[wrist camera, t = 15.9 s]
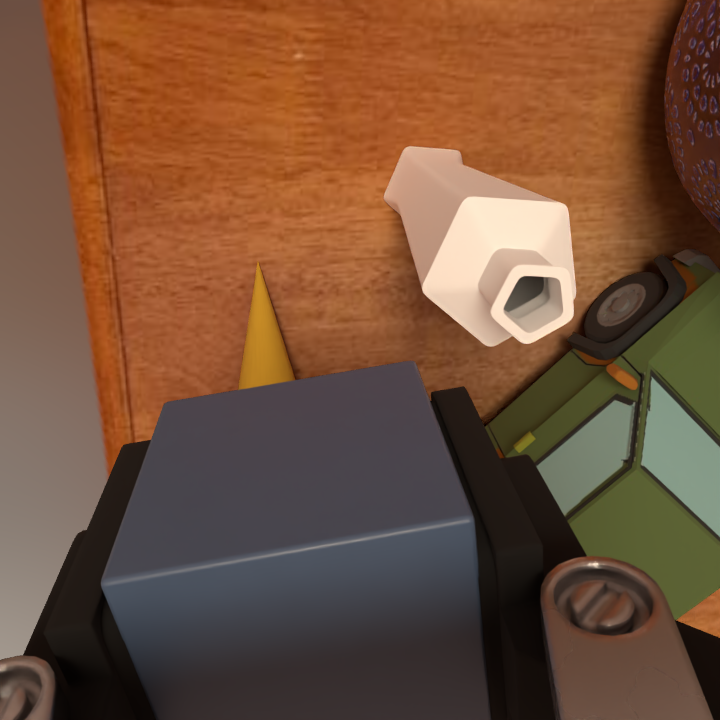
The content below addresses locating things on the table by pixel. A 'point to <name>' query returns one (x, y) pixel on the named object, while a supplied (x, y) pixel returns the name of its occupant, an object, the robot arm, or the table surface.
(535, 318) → the perfume bottle
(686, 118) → the planter
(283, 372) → the ice cream cone
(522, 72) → the table surface
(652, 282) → the toy truck
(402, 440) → the block
